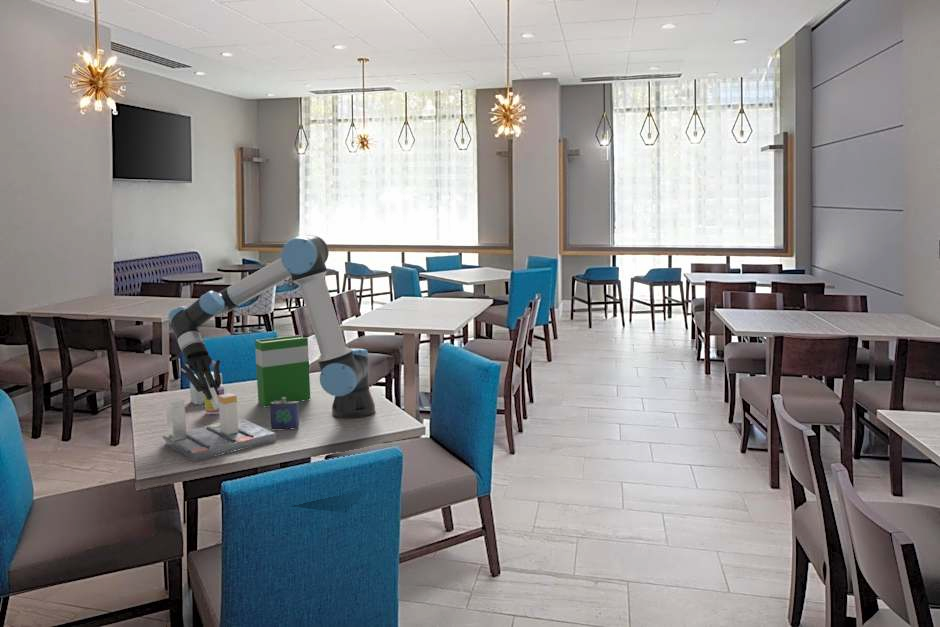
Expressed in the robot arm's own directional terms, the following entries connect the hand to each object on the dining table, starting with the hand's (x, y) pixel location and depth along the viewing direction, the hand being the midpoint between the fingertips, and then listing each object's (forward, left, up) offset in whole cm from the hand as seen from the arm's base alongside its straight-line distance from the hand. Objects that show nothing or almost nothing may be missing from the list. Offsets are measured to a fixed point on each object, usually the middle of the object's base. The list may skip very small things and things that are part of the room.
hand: (217, 406), depth 235 cm
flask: (-17, -12, -10) cm, 23 cm away
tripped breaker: (-6, +3, -7) cm, 10 cm away
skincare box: (+30, -35, -10) cm, 48 cm away
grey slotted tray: (-5, +6, -10) cm, 12 cm away
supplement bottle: (+17, -22, -10) cm, 30 cm away
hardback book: (+1, -42, -10) cm, 44 cm away
